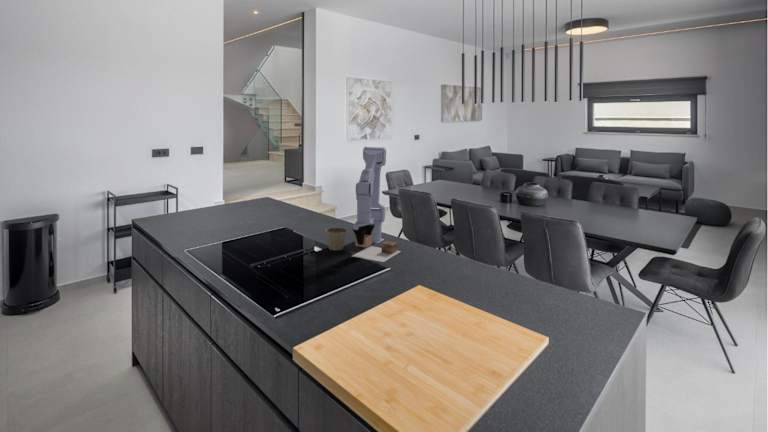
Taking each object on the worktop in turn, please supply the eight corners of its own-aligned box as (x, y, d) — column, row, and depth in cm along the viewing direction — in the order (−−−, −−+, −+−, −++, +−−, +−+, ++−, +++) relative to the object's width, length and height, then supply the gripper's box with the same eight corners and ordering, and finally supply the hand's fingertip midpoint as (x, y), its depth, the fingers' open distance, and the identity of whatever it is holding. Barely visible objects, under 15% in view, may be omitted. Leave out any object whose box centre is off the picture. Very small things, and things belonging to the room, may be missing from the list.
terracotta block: (355, 245, 178) (355, 236, 177) (361, 242, 182) (361, 233, 181) (365, 247, 176) (366, 238, 175) (371, 244, 180) (371, 235, 179)
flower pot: (348, 246, 193) (348, 228, 191) (344, 252, 183) (344, 233, 181) (328, 245, 193) (328, 226, 192) (323, 251, 184) (323, 232, 182)
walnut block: (381, 252, 184) (381, 243, 183) (386, 249, 188) (386, 240, 187) (392, 254, 182) (392, 245, 181) (396, 251, 186) (397, 242, 185)
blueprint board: (351, 257, 178) (351, 256, 178) (370, 247, 193) (370, 246, 193) (383, 263, 171) (383, 262, 171) (401, 252, 186) (401, 251, 186)
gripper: (364, 215, 168) (363, 248, 171) (380, 209, 180) (380, 240, 183) (348, 213, 171) (348, 246, 174) (366, 207, 183) (365, 237, 186)
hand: (363, 242), depth 179 cm, fingers closed on terracotta block, 5 cm apart
